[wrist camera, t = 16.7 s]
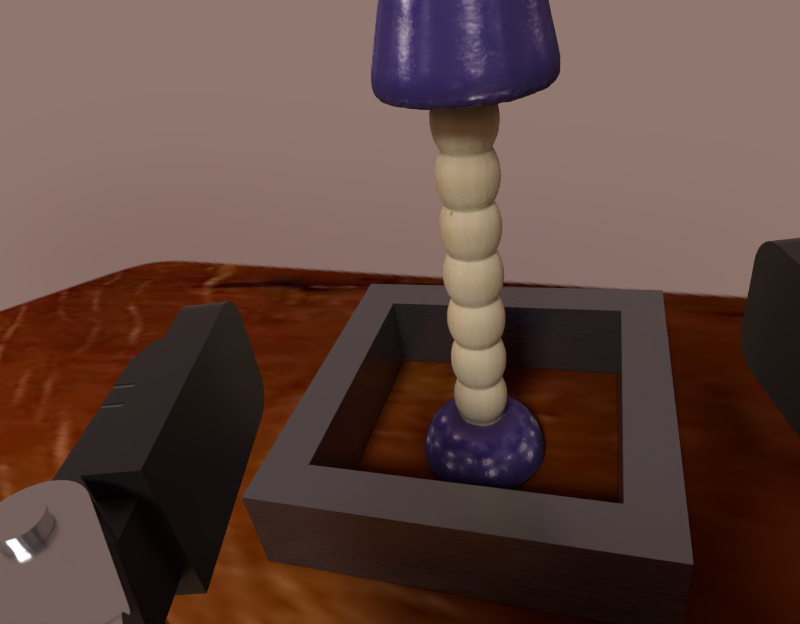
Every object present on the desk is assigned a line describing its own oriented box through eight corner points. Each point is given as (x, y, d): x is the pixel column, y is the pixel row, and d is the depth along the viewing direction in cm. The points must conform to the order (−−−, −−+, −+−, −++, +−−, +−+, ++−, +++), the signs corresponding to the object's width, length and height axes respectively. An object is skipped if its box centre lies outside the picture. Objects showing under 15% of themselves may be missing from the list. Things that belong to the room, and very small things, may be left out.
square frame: (382, 338, 29) (371, 284, 27) (656, 352, 25) (662, 290, 23) (268, 560, 19) (241, 497, 18) (680, 635, 16) (693, 564, 14)
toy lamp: (467, 388, 25) (414, -99, 16) (579, 422, 22) (592, -131, 13) (403, 469, 22) (293, -81, 13) (526, 519, 19) (497, -120, 10)
